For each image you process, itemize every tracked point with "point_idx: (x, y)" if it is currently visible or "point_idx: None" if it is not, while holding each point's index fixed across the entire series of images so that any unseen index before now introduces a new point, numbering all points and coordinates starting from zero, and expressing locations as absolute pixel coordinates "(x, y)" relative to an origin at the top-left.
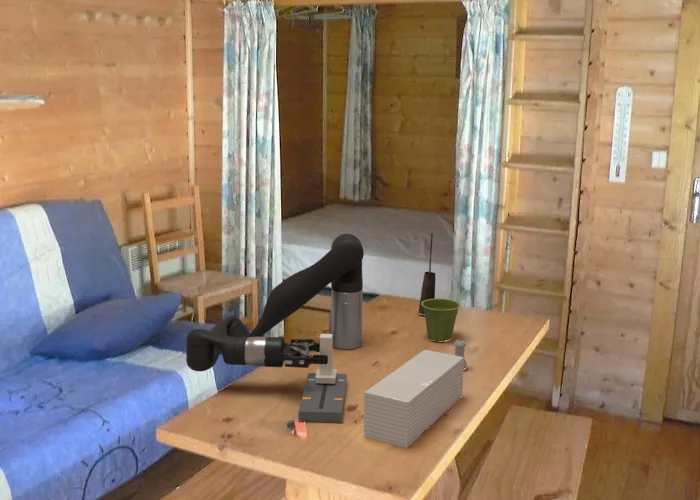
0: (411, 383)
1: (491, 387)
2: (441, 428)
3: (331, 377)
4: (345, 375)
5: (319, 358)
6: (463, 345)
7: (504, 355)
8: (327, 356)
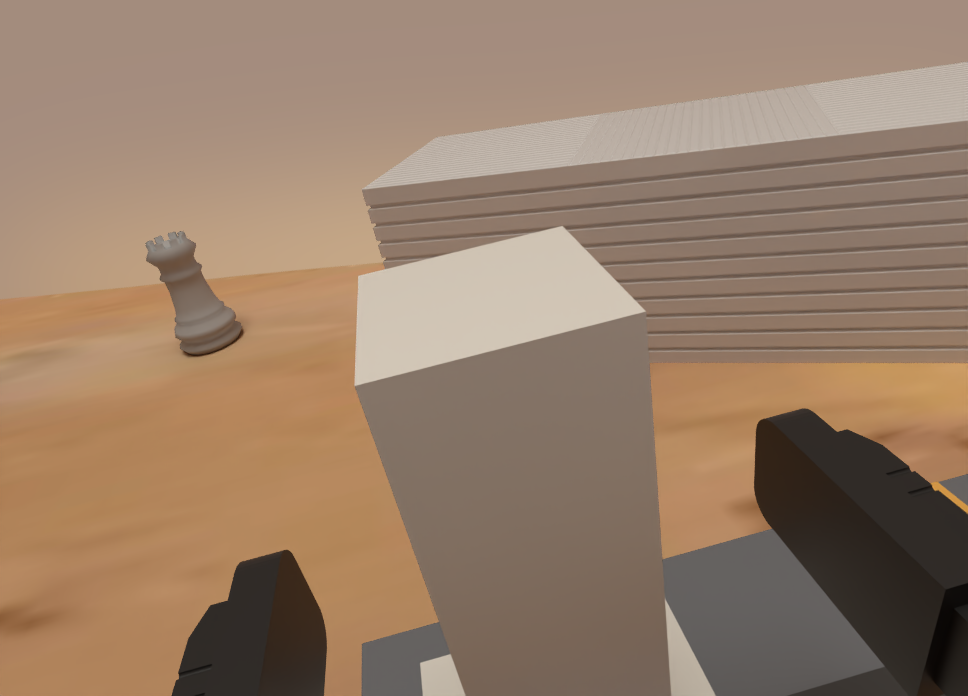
0: (834, 97)
1: (379, 266)
2: None
3: (667, 632)
4: (400, 641)
5: (925, 486)
6: (190, 240)
7: (122, 302)
8: (781, 415)
